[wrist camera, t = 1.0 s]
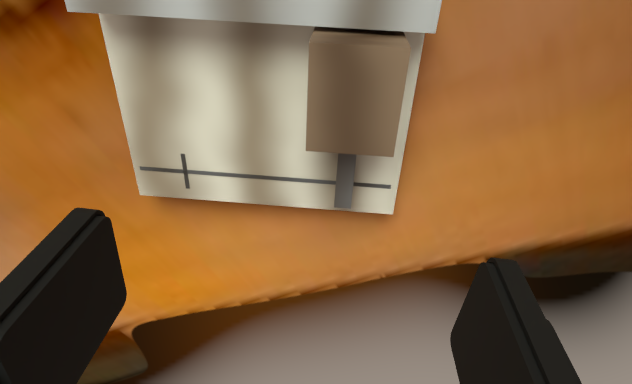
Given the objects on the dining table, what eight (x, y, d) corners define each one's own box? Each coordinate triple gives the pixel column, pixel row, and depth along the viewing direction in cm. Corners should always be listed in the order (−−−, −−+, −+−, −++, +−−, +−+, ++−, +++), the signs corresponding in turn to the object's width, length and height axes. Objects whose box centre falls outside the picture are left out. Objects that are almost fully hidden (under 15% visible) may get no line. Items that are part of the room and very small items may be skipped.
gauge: (401, 27, 24) (411, 48, 20) (376, 196, 31) (380, 239, 27) (316, 22, 24) (309, 41, 20) (309, 191, 31) (302, 233, 27)
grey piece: (426, -21, 25) (443, -9, 21) (390, 196, 34) (396, 239, 29) (108, -38, 26) (56, -30, 21) (152, 178, 35) (122, 217, 30)
